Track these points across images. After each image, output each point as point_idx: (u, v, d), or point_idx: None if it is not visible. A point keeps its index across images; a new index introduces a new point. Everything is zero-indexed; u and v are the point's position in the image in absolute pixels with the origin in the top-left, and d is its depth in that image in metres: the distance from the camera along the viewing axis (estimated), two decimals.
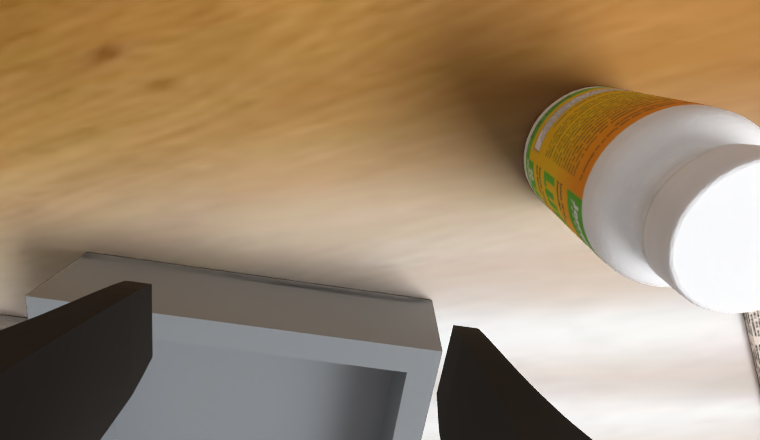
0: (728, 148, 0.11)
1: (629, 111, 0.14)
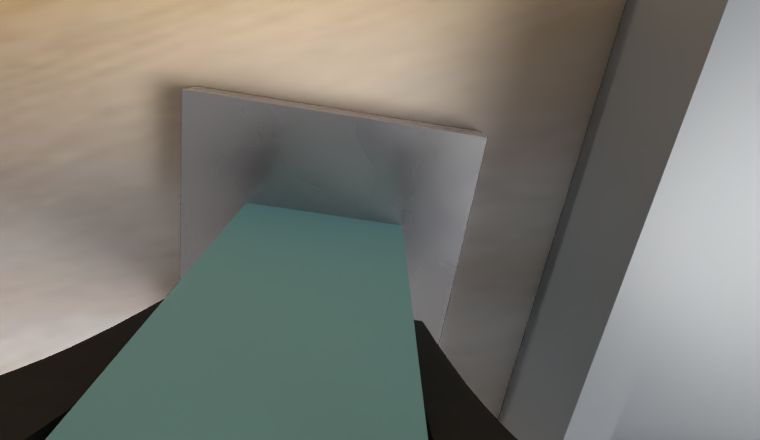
0: None
1: None
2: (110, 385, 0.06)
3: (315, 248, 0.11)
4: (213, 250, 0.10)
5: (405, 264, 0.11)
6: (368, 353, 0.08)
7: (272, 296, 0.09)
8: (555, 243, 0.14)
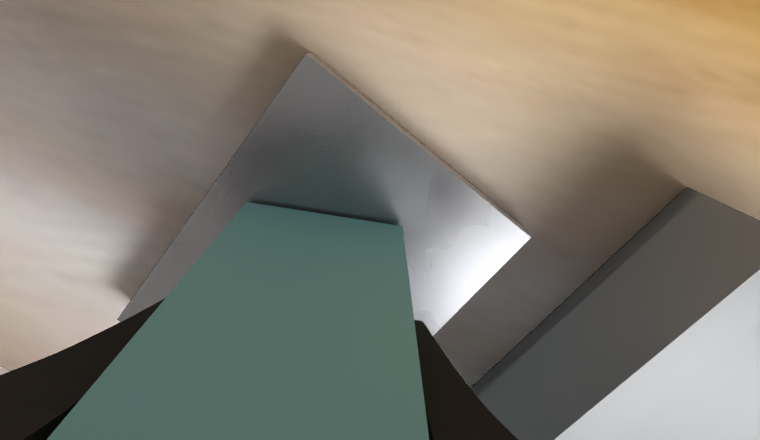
0: None
1: None
2: (111, 385, 0.06)
3: (315, 249, 0.11)
4: (213, 250, 0.10)
5: (405, 265, 0.11)
6: (369, 355, 0.08)
7: (273, 297, 0.09)
8: (524, 344, 0.16)
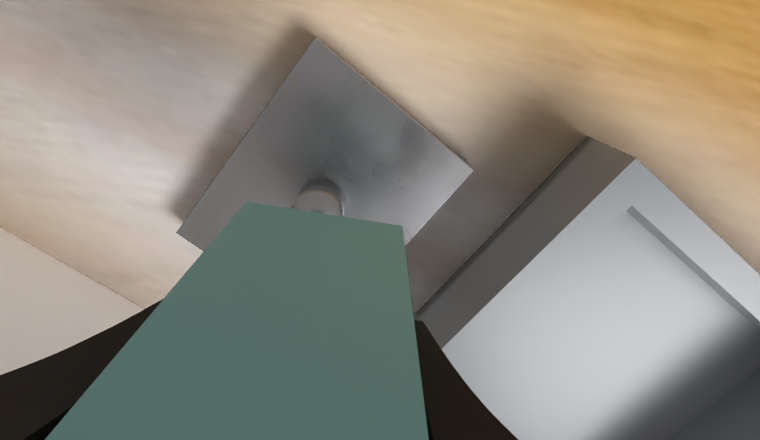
0: None
1: None
2: (110, 385, 0.06)
3: (315, 248, 0.11)
4: (213, 249, 0.10)
5: (405, 264, 0.11)
6: (368, 354, 0.08)
7: (272, 296, 0.09)
8: (474, 256, 0.21)
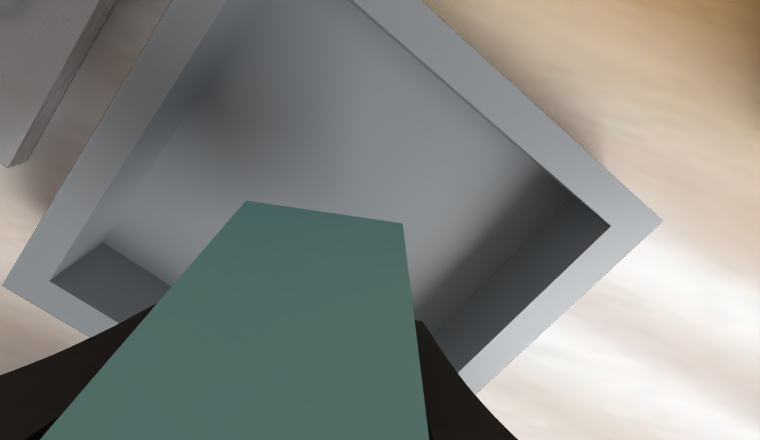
0: None
1: None
2: (108, 383, 0.06)
3: (314, 246, 0.11)
4: (212, 248, 0.10)
5: (406, 262, 0.11)
6: (368, 351, 0.08)
7: (272, 293, 0.09)
8: None
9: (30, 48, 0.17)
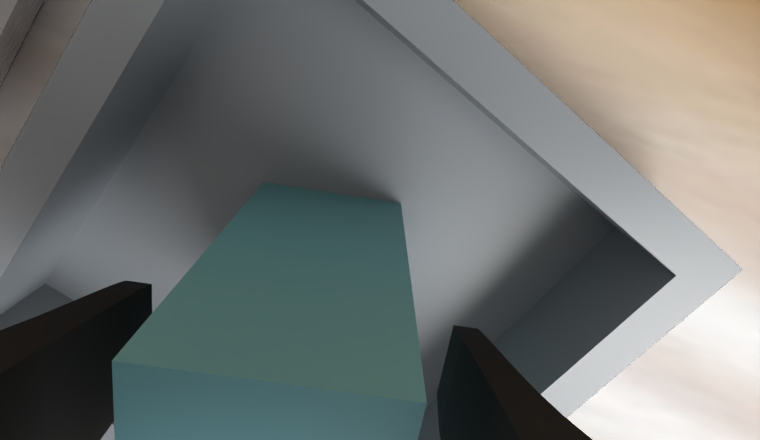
0: None
1: None
2: (173, 305, 0.08)
3: (325, 218, 0.13)
4: (240, 217, 0.12)
5: (403, 233, 0.13)
6: (372, 293, 0.09)
7: (293, 252, 0.11)
8: None
9: None
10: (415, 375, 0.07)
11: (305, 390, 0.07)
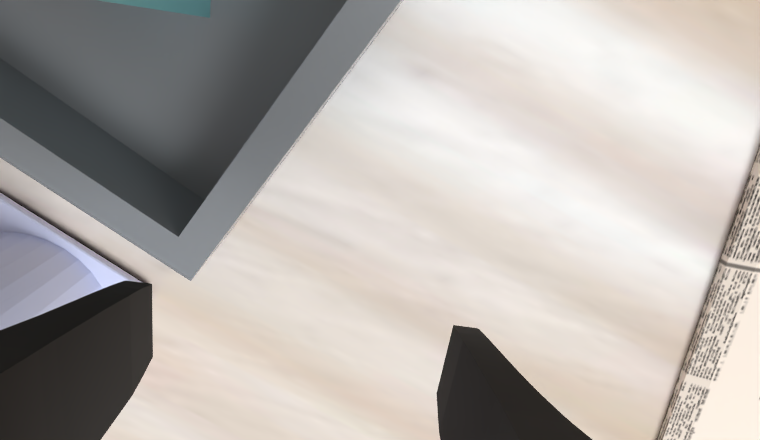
0: None
1: None
2: None
3: None
4: None
5: None
6: None
7: None
8: None
9: None
10: None
11: None
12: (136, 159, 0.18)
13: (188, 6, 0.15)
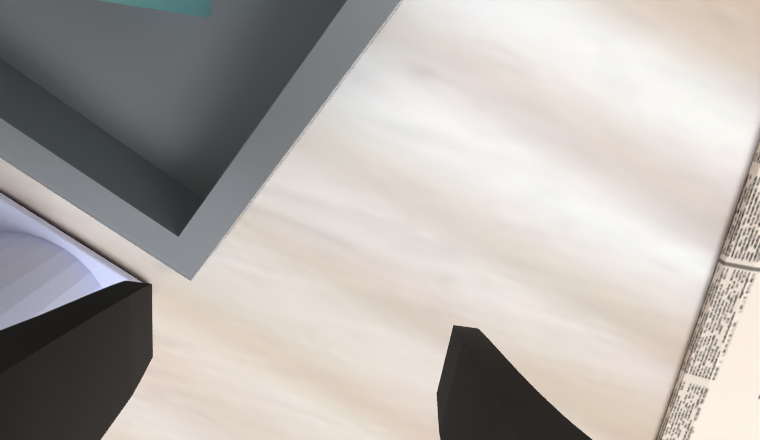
0: None
1: None
2: None
3: None
4: None
5: None
6: None
7: None
8: None
9: None
10: None
11: None
12: (136, 158, 0.18)
13: (188, 6, 0.15)
